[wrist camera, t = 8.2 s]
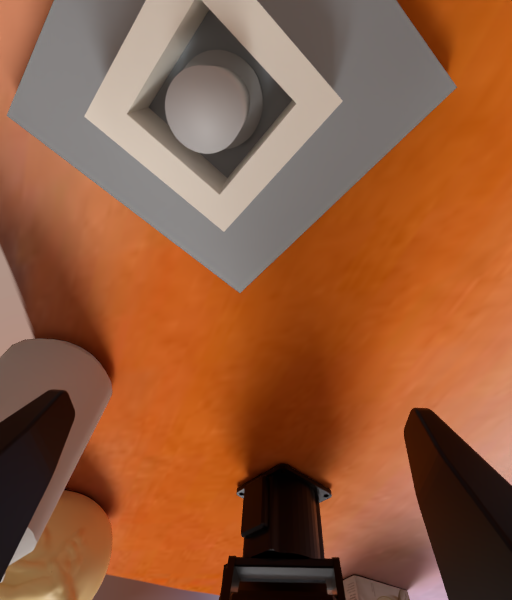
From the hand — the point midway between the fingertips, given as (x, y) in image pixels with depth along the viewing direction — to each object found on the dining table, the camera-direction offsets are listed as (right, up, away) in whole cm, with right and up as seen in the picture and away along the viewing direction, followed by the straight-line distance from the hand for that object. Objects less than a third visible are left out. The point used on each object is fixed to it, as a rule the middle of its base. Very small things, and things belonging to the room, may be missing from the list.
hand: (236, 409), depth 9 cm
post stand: (-1, +12, +6) cm, 13 cm away
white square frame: (-1, +11, +5) cm, 12 cm away
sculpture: (-19, -19, +28) cm, 38 cm away
